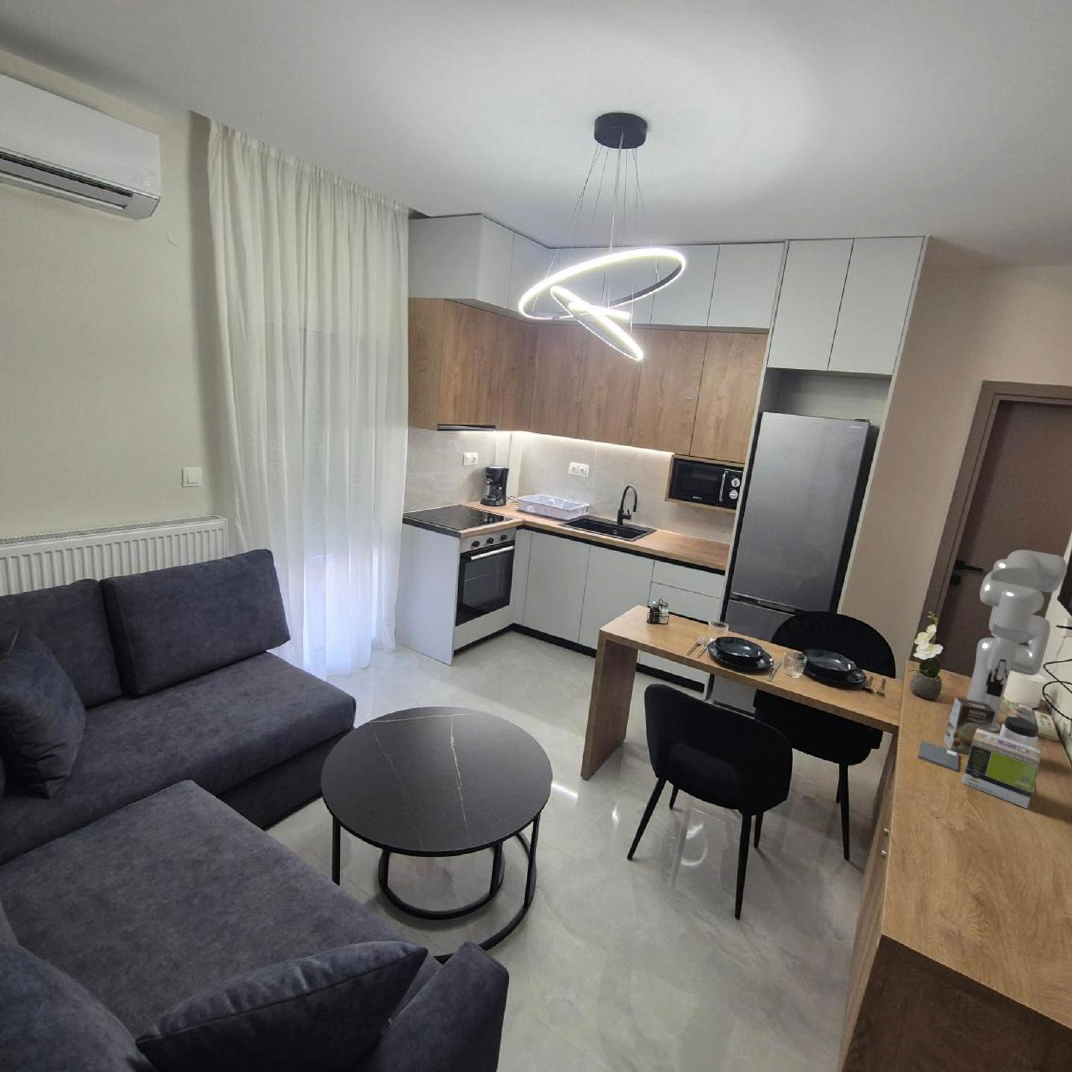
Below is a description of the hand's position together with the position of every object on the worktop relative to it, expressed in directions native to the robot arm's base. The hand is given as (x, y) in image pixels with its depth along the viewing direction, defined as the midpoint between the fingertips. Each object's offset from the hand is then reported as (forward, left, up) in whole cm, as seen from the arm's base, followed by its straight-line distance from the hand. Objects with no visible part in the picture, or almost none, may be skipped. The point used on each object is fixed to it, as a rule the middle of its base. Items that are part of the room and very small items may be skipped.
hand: (992, 690), depth 165 cm
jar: (-24, +11, -28) cm, 38 cm away
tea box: (+3, +6, -28) cm, 29 cm away
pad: (-5, -8, -28) cm, 29 cm away
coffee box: (-17, -2, -28) cm, 33 cm away
